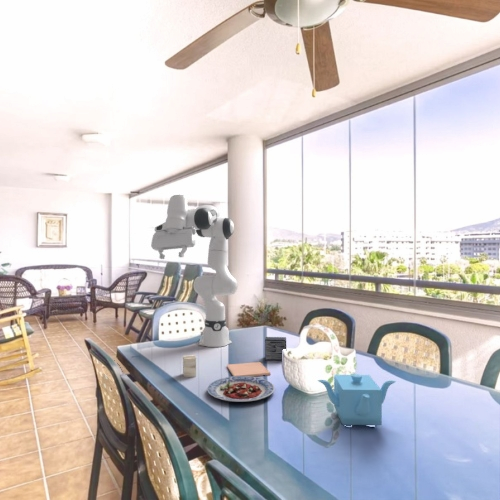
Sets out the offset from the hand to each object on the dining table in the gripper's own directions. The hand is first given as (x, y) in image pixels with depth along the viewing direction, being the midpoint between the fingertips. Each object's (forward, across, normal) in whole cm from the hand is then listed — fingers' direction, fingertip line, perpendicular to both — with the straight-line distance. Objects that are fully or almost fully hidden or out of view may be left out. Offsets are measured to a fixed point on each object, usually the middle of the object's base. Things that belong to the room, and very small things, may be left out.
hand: (171, 257), depth 167 cm
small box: (+35, -30, -58) cm, 74 cm away
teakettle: (+60, -73, -6) cm, 95 cm away
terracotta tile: (+43, -23, -37) cm, 61 cm away
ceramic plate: (+53, -30, -15) cm, 62 cm away
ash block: (+46, -1, -23) cm, 52 cm away
